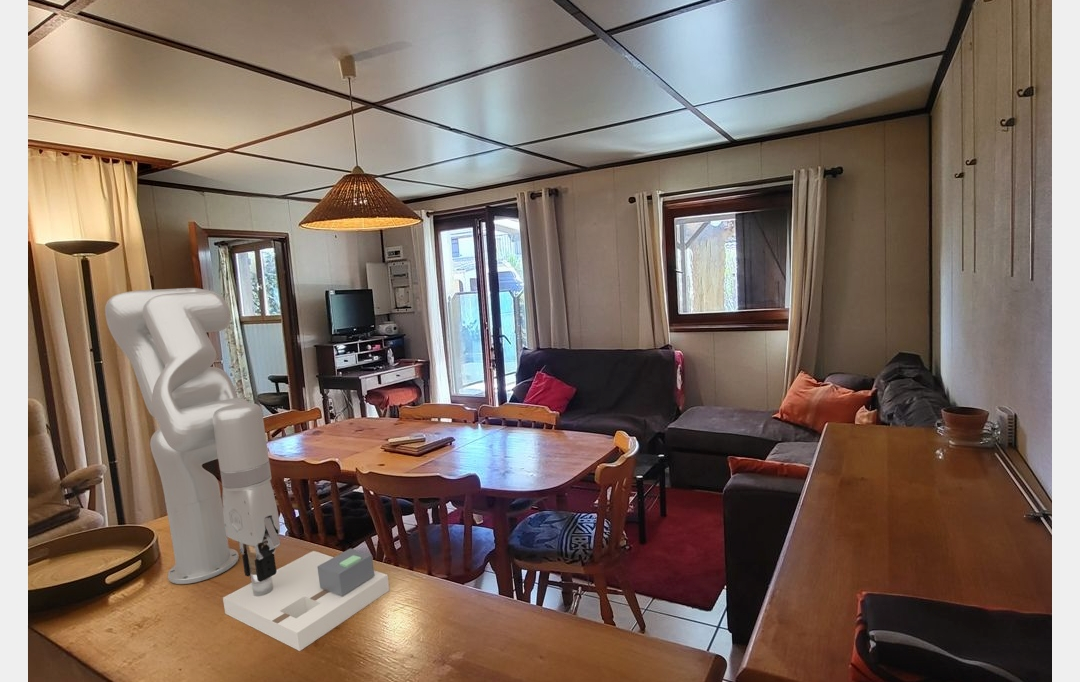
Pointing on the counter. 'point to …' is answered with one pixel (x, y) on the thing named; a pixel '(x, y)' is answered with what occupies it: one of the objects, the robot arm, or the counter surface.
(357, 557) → the block
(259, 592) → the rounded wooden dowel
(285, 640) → the white flat rectangular board
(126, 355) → the robot arm
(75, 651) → the counter surface
